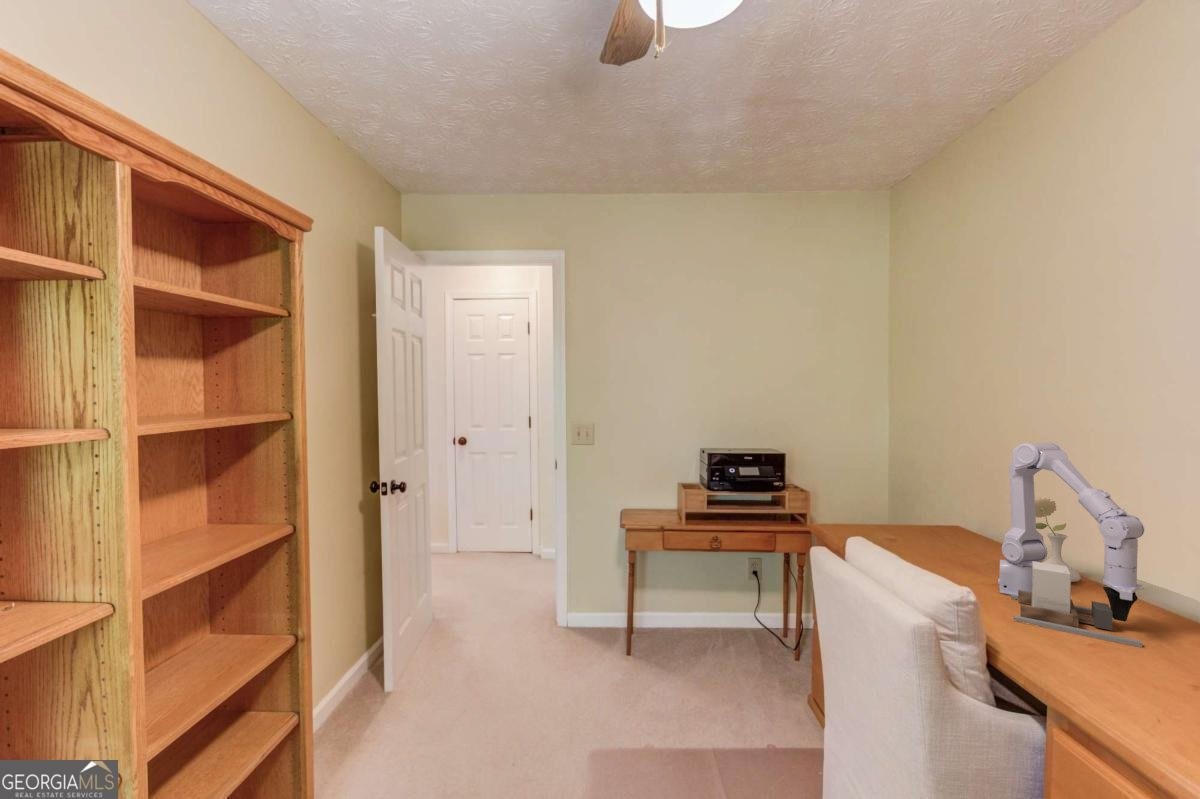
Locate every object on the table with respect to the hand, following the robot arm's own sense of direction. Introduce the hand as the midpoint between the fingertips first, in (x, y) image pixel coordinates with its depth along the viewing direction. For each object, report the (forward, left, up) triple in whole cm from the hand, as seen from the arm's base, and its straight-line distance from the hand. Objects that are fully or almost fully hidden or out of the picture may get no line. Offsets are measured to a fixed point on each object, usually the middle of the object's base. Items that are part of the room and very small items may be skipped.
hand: (1119, 619), depth 129 cm
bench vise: (-10, 0, -2) cm, 11 cm away
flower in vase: (-10, +36, -3) cm, 37 cm away
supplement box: (-13, +1, -3) cm, 13 cm away
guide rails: (-9, 0, -2) cm, 9 cm away
